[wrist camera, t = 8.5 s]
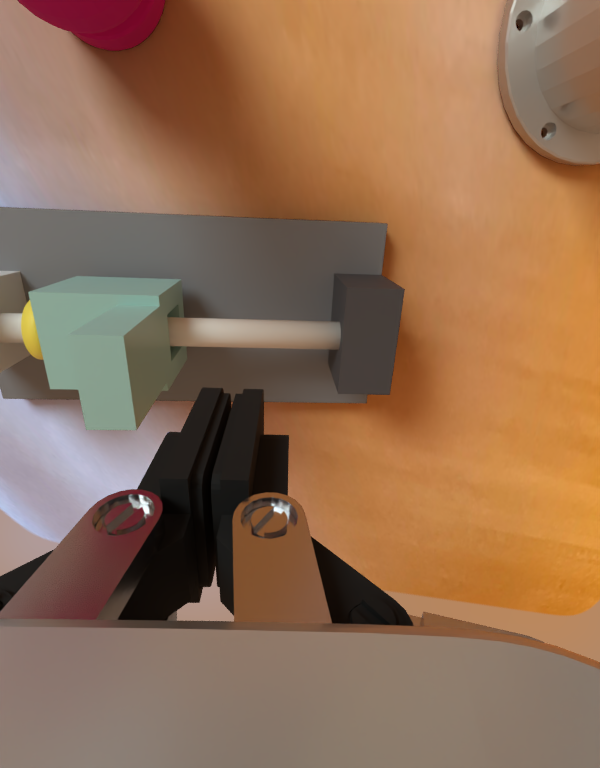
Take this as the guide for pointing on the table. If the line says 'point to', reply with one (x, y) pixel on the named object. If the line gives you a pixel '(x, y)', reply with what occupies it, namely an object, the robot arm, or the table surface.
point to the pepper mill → (101, 19)
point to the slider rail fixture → (218, 298)
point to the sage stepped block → (110, 343)
